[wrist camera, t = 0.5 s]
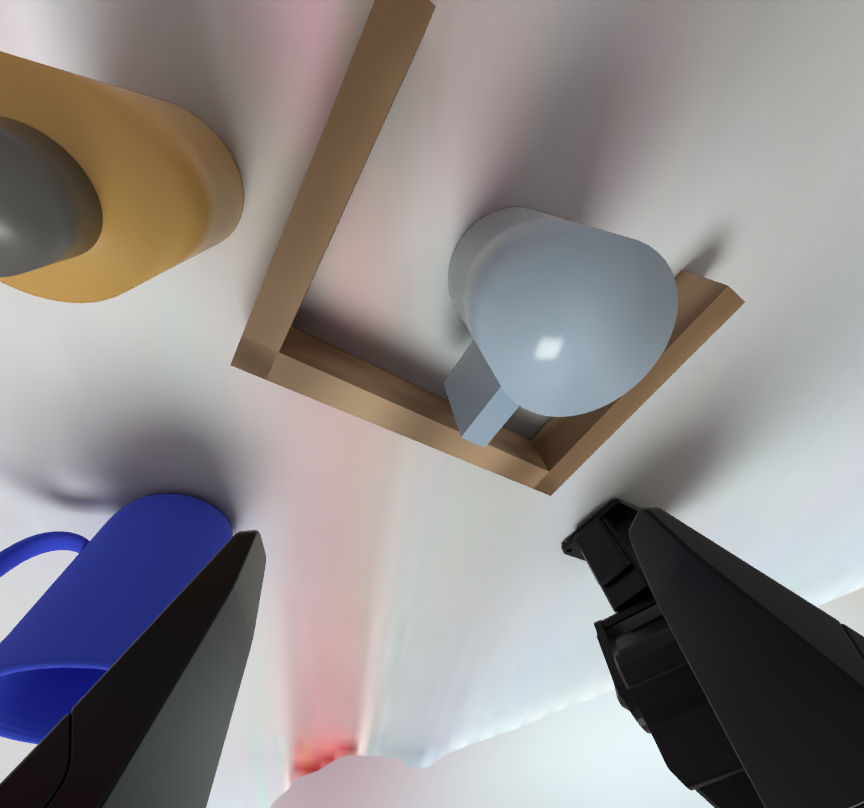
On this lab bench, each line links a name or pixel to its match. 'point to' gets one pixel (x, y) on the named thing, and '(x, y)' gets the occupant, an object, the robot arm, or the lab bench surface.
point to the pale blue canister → (552, 318)
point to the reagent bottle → (103, 185)
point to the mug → (98, 604)
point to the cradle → (375, 388)
